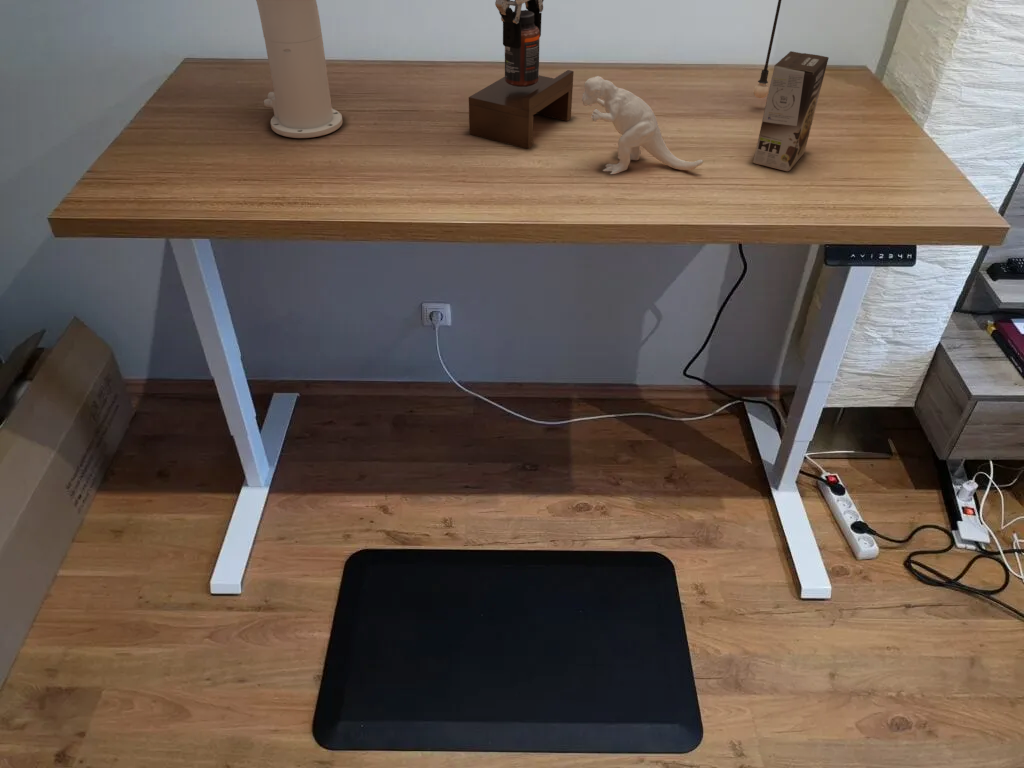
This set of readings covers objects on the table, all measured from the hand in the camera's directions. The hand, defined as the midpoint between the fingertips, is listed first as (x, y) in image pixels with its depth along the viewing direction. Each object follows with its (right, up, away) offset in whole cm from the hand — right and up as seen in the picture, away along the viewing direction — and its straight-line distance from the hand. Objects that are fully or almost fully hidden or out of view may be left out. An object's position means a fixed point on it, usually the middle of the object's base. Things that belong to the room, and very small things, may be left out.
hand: (522, 40), depth 136 cm
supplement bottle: (0, -6, +5) cm, 7 cm away
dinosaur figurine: (+19, -22, -3) cm, 29 cm away
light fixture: (+45, -6, +17) cm, 49 cm away
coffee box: (+43, -20, 0) cm, 48 cm away
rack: (0, -11, +10) cm, 15 cm away
